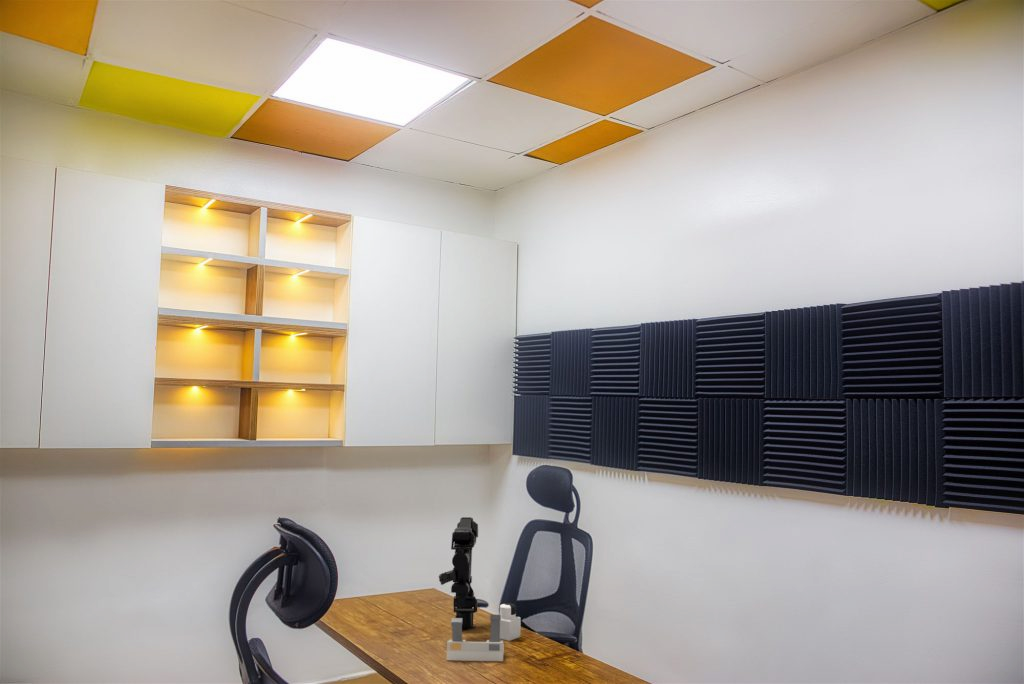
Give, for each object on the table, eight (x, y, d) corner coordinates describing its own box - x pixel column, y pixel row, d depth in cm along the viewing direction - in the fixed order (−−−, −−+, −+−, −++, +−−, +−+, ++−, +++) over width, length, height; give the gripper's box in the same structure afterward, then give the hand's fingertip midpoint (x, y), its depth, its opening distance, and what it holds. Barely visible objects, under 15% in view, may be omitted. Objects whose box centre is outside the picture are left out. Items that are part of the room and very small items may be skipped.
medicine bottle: (505, 633, 284) (505, 600, 285) (520, 636, 280) (521, 603, 281) (494, 637, 278) (494, 604, 280) (509, 641, 274) (510, 607, 275)
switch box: (449, 651, 262) (449, 634, 262) (503, 652, 261) (503, 634, 262) (446, 660, 252) (446, 642, 253) (502, 661, 252) (503, 643, 253)
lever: (489, 645, 259) (490, 615, 263) (500, 645, 259) (500, 615, 263) (489, 645, 257) (490, 614, 261) (499, 645, 257) (500, 614, 261)
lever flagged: (452, 642, 260) (451, 617, 257) (462, 642, 260) (462, 618, 257) (451, 646, 258) (451, 622, 255) (462, 646, 257) (461, 622, 254)
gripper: (443, 558, 286) (442, 600, 284) (437, 568, 267) (436, 613, 266) (472, 559, 286) (471, 601, 284) (468, 569, 267) (467, 614, 266)
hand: (461, 607), depth 275 cm, fingers closed
